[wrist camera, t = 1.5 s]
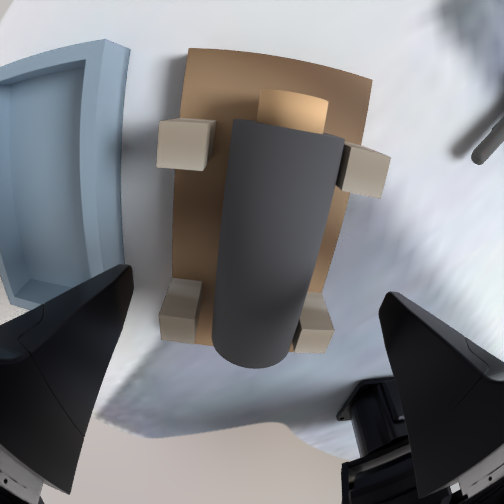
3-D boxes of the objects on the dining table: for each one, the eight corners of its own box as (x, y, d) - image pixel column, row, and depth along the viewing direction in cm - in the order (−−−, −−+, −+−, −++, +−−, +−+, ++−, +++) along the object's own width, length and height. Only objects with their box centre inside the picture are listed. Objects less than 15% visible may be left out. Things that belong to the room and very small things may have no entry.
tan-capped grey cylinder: (278, 311, 16) (300, 364, 13) (208, 313, 15) (216, 370, 12) (321, 105, 11) (373, 110, 8) (230, 89, 10) (250, 81, 7)
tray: (129, 301, 17) (114, 331, 14) (30, 281, 16) (10, 304, 14) (130, 49, 10) (105, 38, 8) (11, 73, 9) (-20, 75, 7)
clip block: (298, 339, 19) (307, 389, 15) (177, 328, 18) (165, 378, 14) (362, 81, 11) (405, 75, 7) (193, 53, 10) (171, 31, 7)
